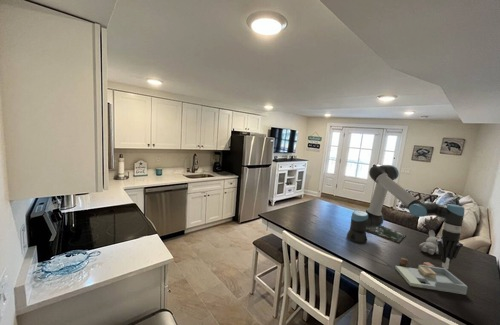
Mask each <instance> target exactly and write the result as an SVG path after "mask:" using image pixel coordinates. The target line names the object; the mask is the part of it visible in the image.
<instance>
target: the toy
mask: <svg viewBox="0 0 500 325" xmlns="http://www.w3.org/2000/svg"><path fill="white" fill-rule="evenodd" d="M428 236H429V237H427V238H426V240H425V242H422V243H420V244H419V245H418V247H419V248H421V250H422V252H424V253H428V254H429V255H431V256H432V255H434V254H437V255H439V253H438V244H437V242H436V240H440V239H441V237H442V235H441V236H440V237H439V238H438V237H436V233H435V231H434V230H433V229H430V230H429V231H428Z"/></svg>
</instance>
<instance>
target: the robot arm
mask: <svg viewBox="0 0 500 325" xmlns="http://www.w3.org/2000/svg"><path fill="white" fill-rule="evenodd" d="M368 174H369V177H370V179H371V180H373V182H375V183H376V184H375V187H374V190H373V192H372V193H373V194H372V197H371V200H370V202H369V203H370V204H369V207H368V208H366V210H365V211H362V210H356V211H352V213H351V216H350V218H351V219H350V225H349V230H348V232H347V234H346V239H347V240H348V241H350V242H352V243H354V244H357V245H359V244H360V245H366V244H367V242H368V236H367V232H366V228H368V227H378V226H381V225H382V226H383V223H384V216H383V213H382V209H383V207H384V203H385V199H386V197H387V195H388V192H389V193H390V194H391V195H393V197H394V198H396V199H397V200H398V201H399V202H401V203H402V204H403V205H405V206H406V208H408V212H409V213H410V215H411V216H413V217H417V218H418V217H419V218H422V217H429V216H430V217H431V216H435V217H439V218H442V219H443V220H444V221H443V225H442V231H441V236H442V237H441V236H440V237H441V239H440V240H436V242H437V244H438V253H439V254H438V255H439V256H440V257H441V259H440V260H441V262H442V263H441V268H445V269H446V270H449V266H450V264H451V261H452V260H453V259H456V258H457V256H458V254H459V252H460V250H461V248H462V247H463V246H464V244H463V243H461V242H460V239H461V238H460V237H461V232H462V227H463V222H464V217H465V210H466V209H465V207H464V206H462V205H460V204H454V203H447V205H443V204H440V203H436V202H434V201H424V202H422V201H420V200H419V199H418V198H416V197H415V196H414V195H413V194H412V193H410V192H409V191H407V190H406V189H405V188H404V187H402V186H401V185H400V184H398V183H397V182H396V181H395V180H397V179H398V177H399V175H400V172H399V170H398V167H396V166H395V165H390V164H375V165H373V166H371V167H370V168H369V171H368Z"/></svg>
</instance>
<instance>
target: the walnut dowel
mask: <svg viewBox="0 0 500 325" xmlns="http://www.w3.org/2000/svg"><path fill="white" fill-rule="evenodd" d="M399 261H400V262H399V266H401V267H408V265H409V260H408V259H407V258H405V257H400V260H399Z"/></svg>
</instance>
